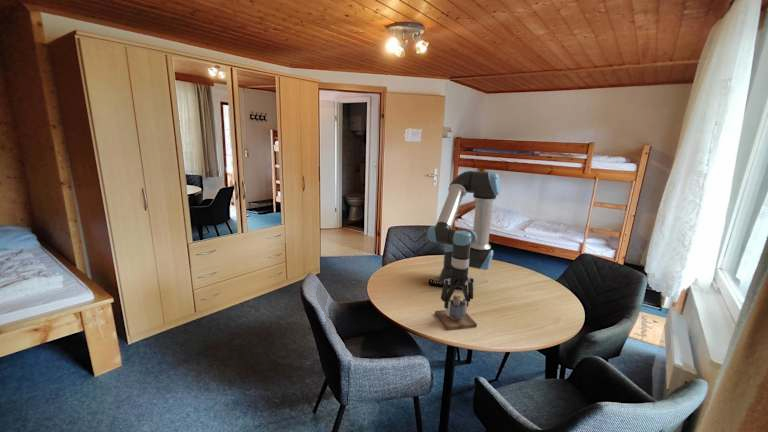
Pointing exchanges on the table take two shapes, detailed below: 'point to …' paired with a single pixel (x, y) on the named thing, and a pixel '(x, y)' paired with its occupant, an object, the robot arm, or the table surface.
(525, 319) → the table surface
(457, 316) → the collar
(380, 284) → the table surface
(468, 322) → the shaft block
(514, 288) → the table surface
